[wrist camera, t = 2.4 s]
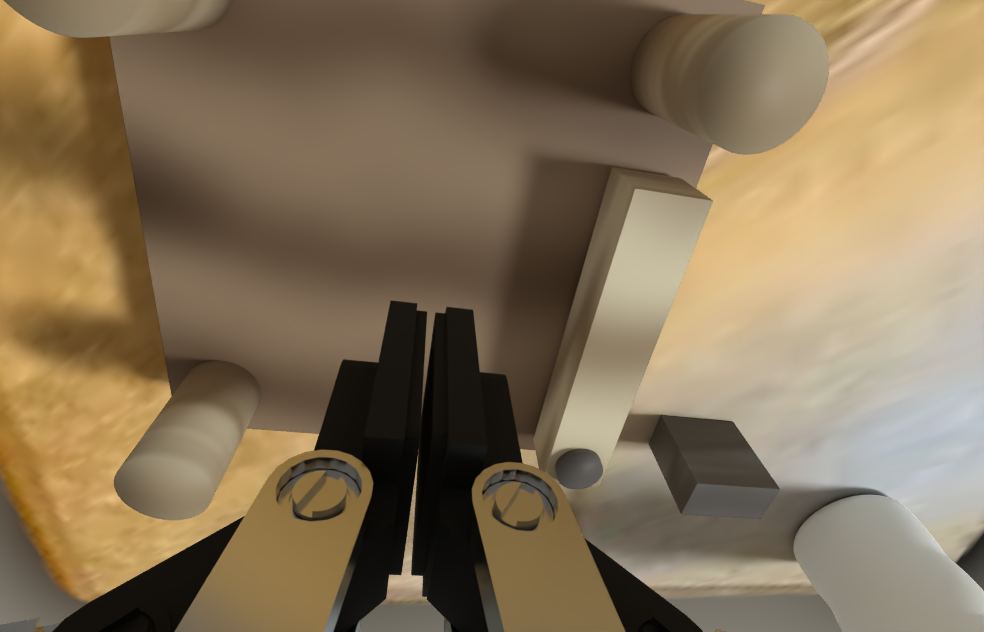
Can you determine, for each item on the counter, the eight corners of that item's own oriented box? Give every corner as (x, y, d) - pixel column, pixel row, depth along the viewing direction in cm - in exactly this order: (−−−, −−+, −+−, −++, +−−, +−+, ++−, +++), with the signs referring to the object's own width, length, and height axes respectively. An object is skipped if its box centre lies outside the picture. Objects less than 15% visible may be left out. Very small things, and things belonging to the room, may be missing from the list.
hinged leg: (585, 443, 23) (601, 494, 20) (533, 439, 22) (543, 490, 20) (680, 177, 17) (719, 205, 14) (612, 166, 17) (639, 192, 14)
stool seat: (132, -126, 14) (-129, -240, 8) (931, 51, 18) (1197, 73, 12) (205, 408, 24) (114, 555, 17) (718, 449, 28) (799, 582, 21)
